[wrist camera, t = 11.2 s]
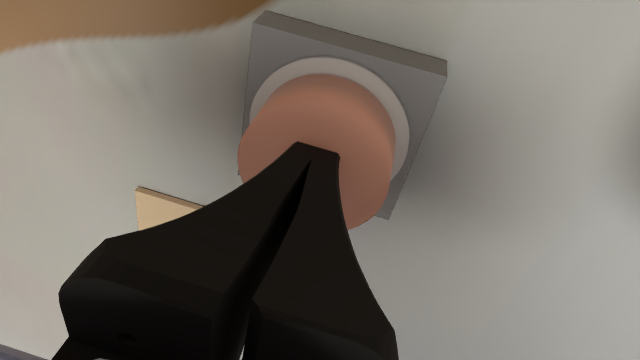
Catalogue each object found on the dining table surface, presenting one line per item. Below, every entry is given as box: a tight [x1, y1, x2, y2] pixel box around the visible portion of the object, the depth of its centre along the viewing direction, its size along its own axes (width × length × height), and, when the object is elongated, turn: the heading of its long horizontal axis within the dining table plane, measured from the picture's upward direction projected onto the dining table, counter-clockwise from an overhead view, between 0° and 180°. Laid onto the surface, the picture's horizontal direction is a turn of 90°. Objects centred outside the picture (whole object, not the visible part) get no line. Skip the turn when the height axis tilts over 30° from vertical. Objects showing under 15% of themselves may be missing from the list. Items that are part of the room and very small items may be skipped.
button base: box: [238, 11, 447, 220], centre depth 16 cm, size 6×6×2 cm
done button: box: [238, 74, 396, 230], centre depth 14 cm, size 5×5×2 cm
